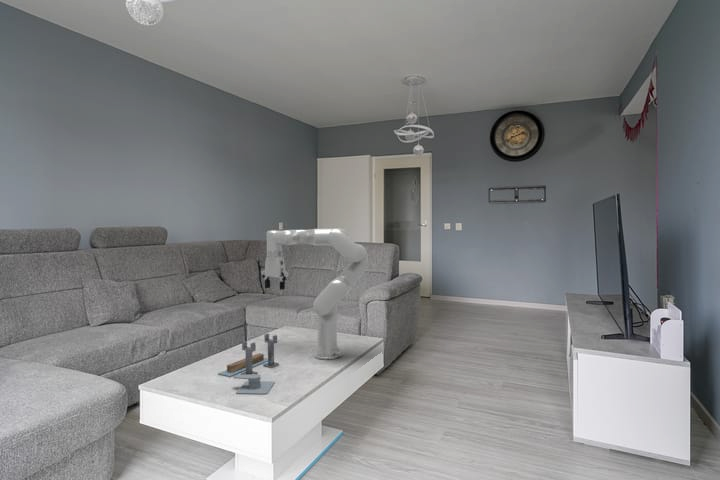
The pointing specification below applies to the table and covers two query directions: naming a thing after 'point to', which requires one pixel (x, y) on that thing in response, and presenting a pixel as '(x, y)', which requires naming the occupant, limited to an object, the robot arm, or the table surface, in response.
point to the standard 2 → (270, 351)
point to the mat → (241, 369)
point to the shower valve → (254, 385)
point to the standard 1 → (248, 357)
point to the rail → (244, 363)
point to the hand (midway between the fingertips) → (274, 288)
